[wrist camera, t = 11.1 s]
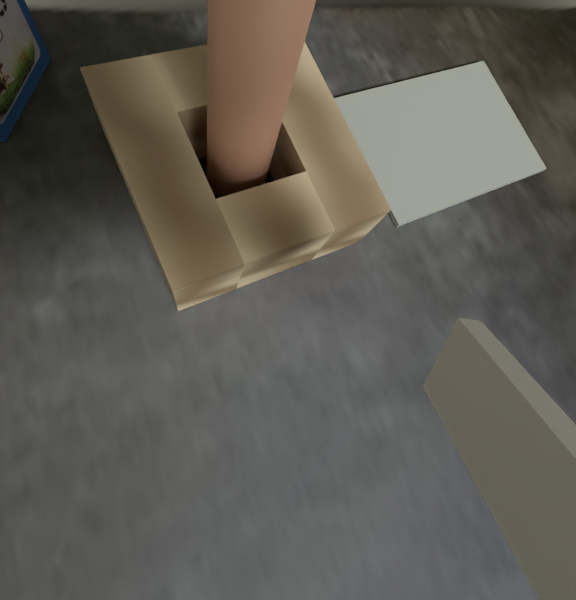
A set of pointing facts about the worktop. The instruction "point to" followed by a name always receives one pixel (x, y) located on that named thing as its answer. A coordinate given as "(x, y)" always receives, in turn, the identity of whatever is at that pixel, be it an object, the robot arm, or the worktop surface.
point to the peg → (249, 85)
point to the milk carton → (18, 62)
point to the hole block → (238, 206)
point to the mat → (439, 139)
